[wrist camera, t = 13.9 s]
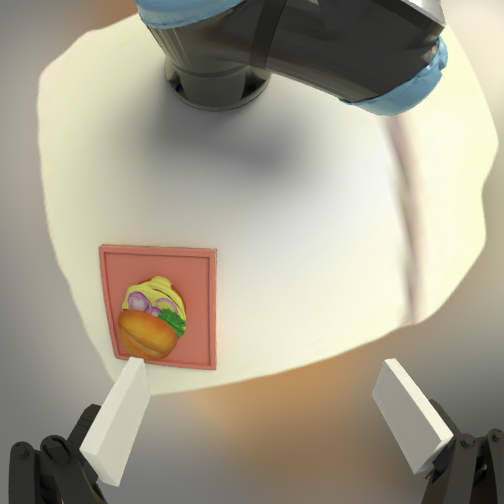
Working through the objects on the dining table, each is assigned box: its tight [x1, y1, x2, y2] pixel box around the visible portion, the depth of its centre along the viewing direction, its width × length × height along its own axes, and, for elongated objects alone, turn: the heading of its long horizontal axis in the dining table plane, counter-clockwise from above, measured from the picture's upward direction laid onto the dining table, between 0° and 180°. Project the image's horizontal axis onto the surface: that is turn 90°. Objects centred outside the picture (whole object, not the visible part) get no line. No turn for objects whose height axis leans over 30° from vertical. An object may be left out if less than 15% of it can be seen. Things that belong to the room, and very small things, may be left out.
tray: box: [99, 245, 217, 370], centre depth 40 cm, size 20×18×2 cm
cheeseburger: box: [117, 276, 186, 360], centre depth 36 cm, size 10×11×10 cm
